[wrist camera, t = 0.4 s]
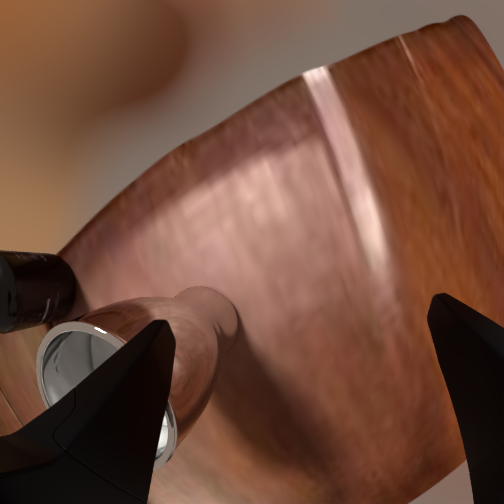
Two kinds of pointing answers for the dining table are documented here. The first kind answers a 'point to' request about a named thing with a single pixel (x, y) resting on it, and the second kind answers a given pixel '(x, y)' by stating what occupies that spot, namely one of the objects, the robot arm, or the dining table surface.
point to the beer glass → (125, 328)
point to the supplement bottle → (33, 290)
